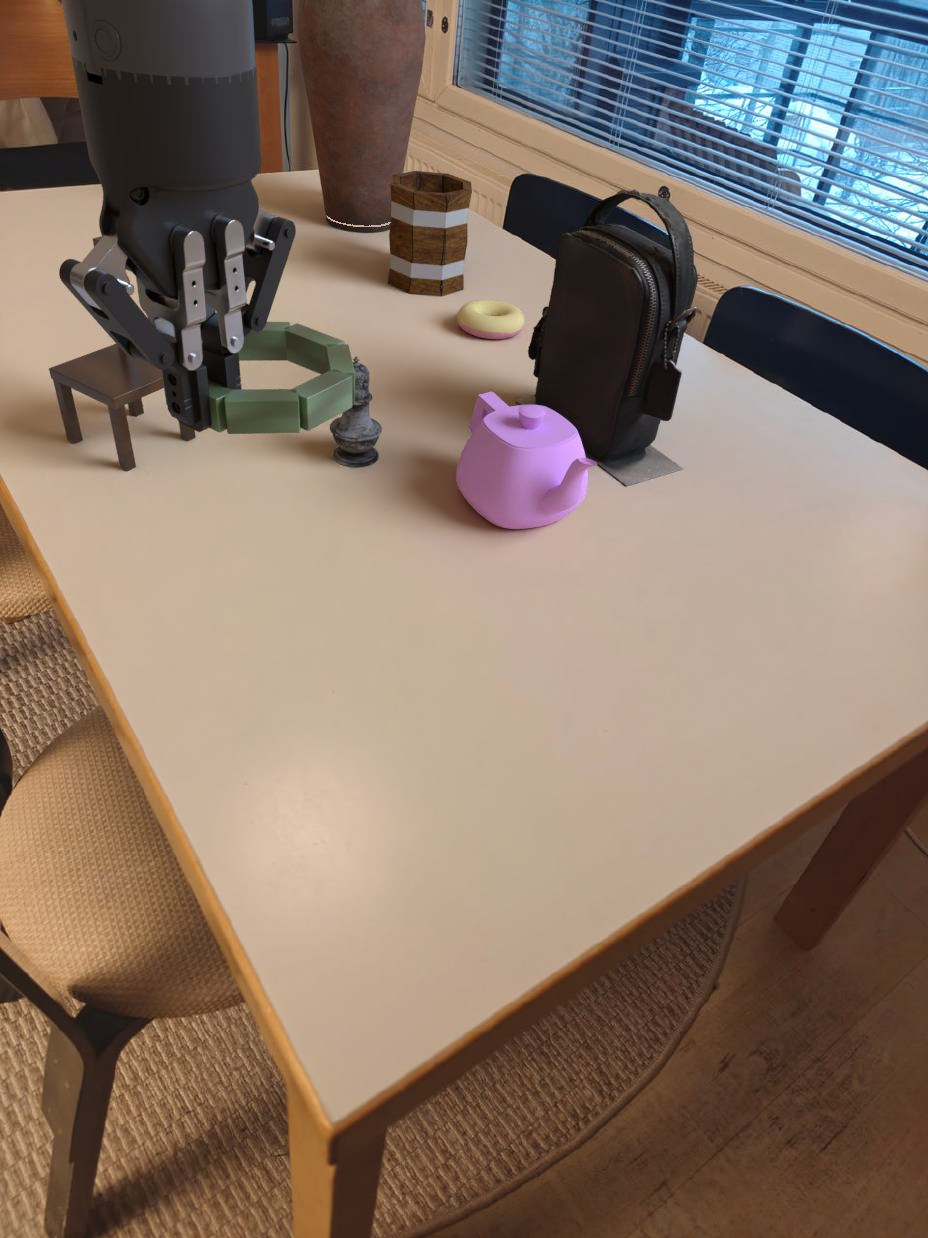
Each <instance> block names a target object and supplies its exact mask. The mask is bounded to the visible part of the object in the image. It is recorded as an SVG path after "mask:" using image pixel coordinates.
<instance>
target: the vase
mask: <svg viewBox="0 0 928 1238" xmlns="http://www.w3.org/2000/svg"><path fill="white" fill-rule="evenodd" d="M423 5H424V4H423V1H422V0H299V5H298V15H297V25H296V28H297V37H298V46H299V48H298V49H299V55H300V57H299V58H300V65H301V70H302V76H303V82H304V87H305V93H306V98H307V104H308V105H307V106H308V109H309V116H310V122H311V128H312V134H313V136H312V137H313V142H314V148H315V155H316V161H317V168H318V175H319V182H320V187H321V193H322V194H321V195H322V202H323V208H324V214H325V213H326V214H325V220H326V223H327V224H329V225H330V226H332V227H333V228H336V229H338V230H342V231H347V232H351V233H360V234H370V233H371V234H372V233H373V234H375V233H381V232H385V231H390V224H389V225H386V226H381V227H353V226H347V225H343V224H339V223H336V222H333V221H331V220H330V219H328V218H327V217H326V215H327V216H328V217H330V218H331V219H333V220H335V221H338V222H341V223H346V224H351V225H352V224H353V225H364V226H369V225H370V226H371V225H381V224H385V223H388V222H391V205H392V200H391V187H390V183H391V177H392V175H394V174H400V173H402V172H405V166H406V160H407V153H408V148H409V142H410V137H411V136H410V135H411V131H412V126H413V125H412V124H413V119H414V113H415V109H416V103H417V99H418V93H419V89H420V84H421V79H422V73H423V65H424V57H425V47H426V40H427V36H426V26H425V15H424V6H423Z"/></svg>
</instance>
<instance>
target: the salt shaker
mask: <svg viewBox="0 0 928 1238" xmlns="http://www.w3.org/2000/svg"><path fill="white" fill-rule="evenodd" d="M352 362H353V366H354V370H355V404H352V408H350V409H348V410H346V411H345V412H343V413H341V416H338V417H336V418H334V419H333V420H332V422H331V423H330V424H329V431H330V433H331V434H332V438H333V440H334V442H335V444H336V446H337V447H335V448H334V449H333V451H332V458H333V460H334V461H335V462H337V464H339V465H341V466H345V467H348V468H365V467H369V466H372V465H374V464H375V463H376V462H377V461H378V460H379V455H380V454H379V452H378V450H377V449H376V448H375V446H376V444H377V443H378V441H379V439H380V435H381V434H382V432H383V427H382V424H381V423H380V422H379V421H378V420H376V419H375V418H372V417H371V414H370V403H371V402H372V400H373V394H372V393H371V392H370V370H369V368H368V367H367V366H366V365H364V363H361V362H360V359H359V357H358V355H356V356H354V358H352Z"/></svg>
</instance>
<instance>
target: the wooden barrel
mask: <svg viewBox="0 0 928 1238" xmlns="http://www.w3.org/2000/svg"><path fill="white" fill-rule="evenodd" d="M390 187H391V200H392V205H391V223H390V229H389V233H388V239H389V240H388V241H389V269H388V278H387V285H390V286H391V287H394V288H396V289H398V290H400V291H403V292H405V293H407V294H410V295H420V296H421V295H423V296H435V297H444V296H447V295H450V294H454V293H458V292H460V291H464V290H465V288H464V287H465V285H464V282H465V281H464V270H465V260H466V253H467V247H468V221H469V208H470V204H471V200H472V199H471V197H472V192H473V187H472V182H471V181H470V180H467V179H464V178H461V177H458V176H456V175H453V174H450V173H444V172H434V171H433V172H432V171H422V170H412V171H410V170H404V172H402V173H400V174H394V175H392V177H391V183H390Z"/></svg>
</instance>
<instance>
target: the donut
mask: <svg viewBox="0 0 928 1238" xmlns="http://www.w3.org/2000/svg"><path fill="white" fill-rule="evenodd" d="M456 317H457V318H456V319H457V324H458V325H459V327H460V328H461V330H463V331H464V332H465V333H467V334H469V335H472V336H473V337H477V338H482V339H487V340H504V339H505V340H506V339H510V338H513V337H515V336H517V335H519V333H520V332H522V331H523V329H524V327H525V316H524V313H522V311H521V310H520V309H519V308H518V307H516V306H515V305H513V304H511V303H508V302H506V301H501V300H495V299H478V300H472V301H469V302H467V303H464V304H463V305H462V306H461V307H460V308H459V310H458V312H457V315H456Z"/></svg>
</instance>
